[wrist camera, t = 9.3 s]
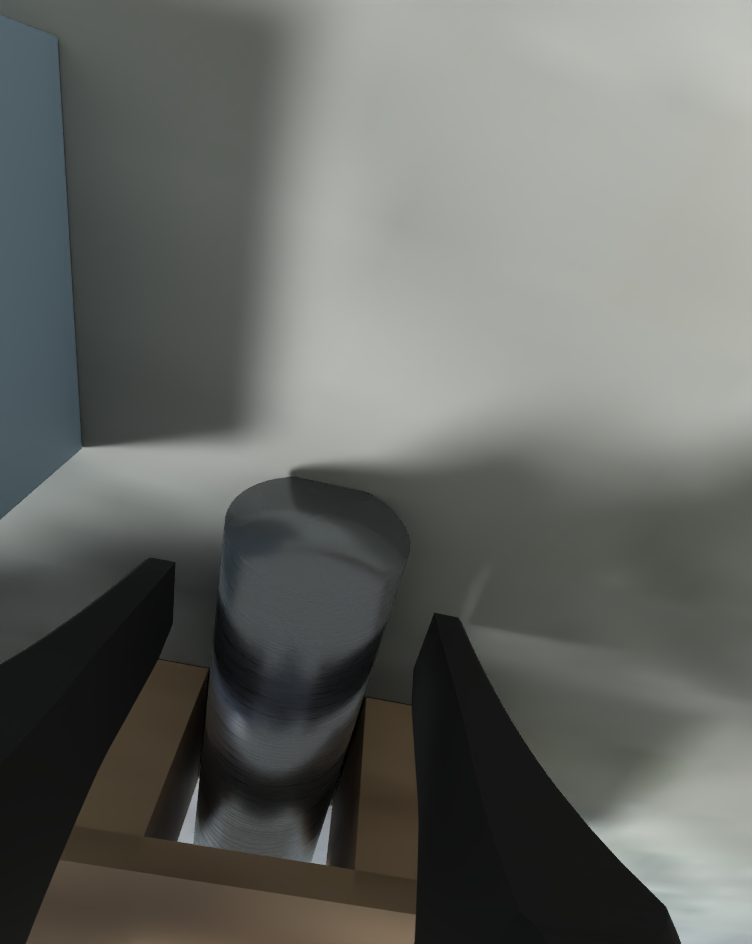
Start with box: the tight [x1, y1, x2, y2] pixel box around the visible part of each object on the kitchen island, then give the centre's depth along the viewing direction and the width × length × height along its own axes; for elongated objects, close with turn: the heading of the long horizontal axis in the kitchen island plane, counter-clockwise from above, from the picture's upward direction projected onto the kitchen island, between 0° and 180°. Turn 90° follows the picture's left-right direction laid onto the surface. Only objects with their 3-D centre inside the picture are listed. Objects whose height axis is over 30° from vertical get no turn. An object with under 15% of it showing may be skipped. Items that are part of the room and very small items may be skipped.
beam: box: [26, 660, 418, 944], centre depth 16 cm, size 6×14×6 cm, turn 78°
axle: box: [193, 477, 410, 863], centre depth 15 cm, size 14×4×4 cm, turn 168°
